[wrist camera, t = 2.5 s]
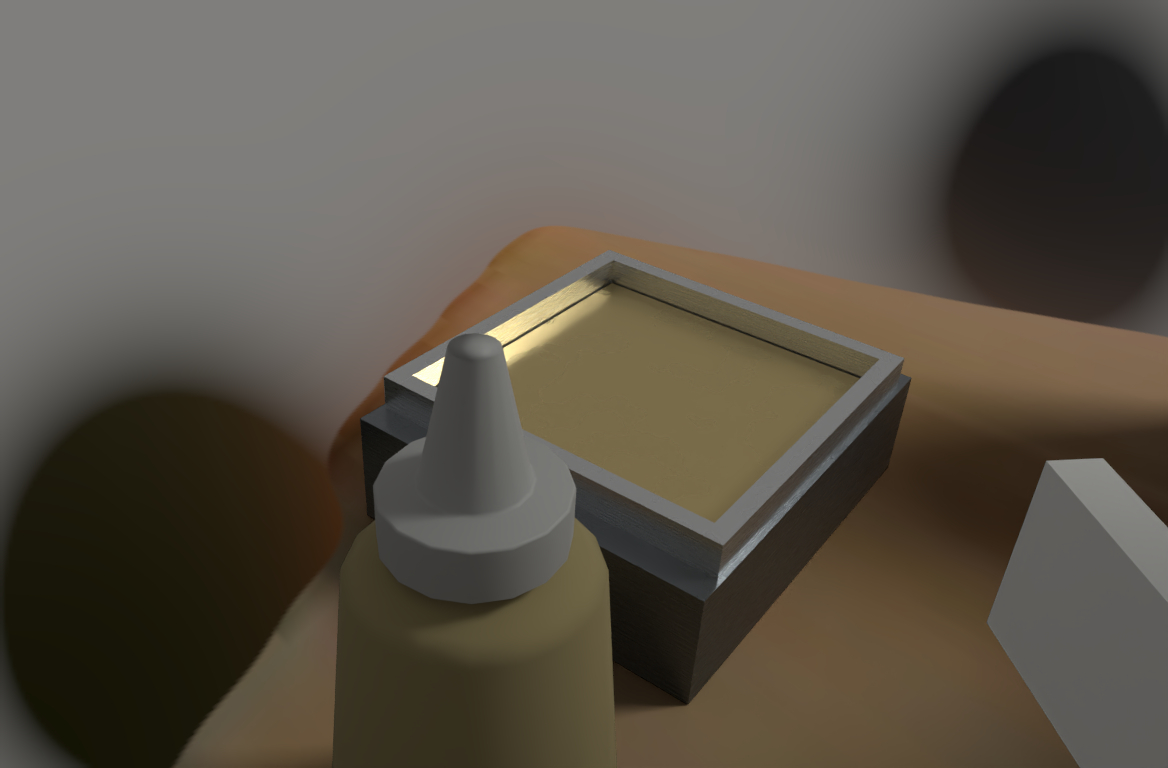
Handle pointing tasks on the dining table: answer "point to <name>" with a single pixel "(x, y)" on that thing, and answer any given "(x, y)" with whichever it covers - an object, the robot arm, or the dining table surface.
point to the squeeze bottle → (474, 598)
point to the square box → (680, 445)
